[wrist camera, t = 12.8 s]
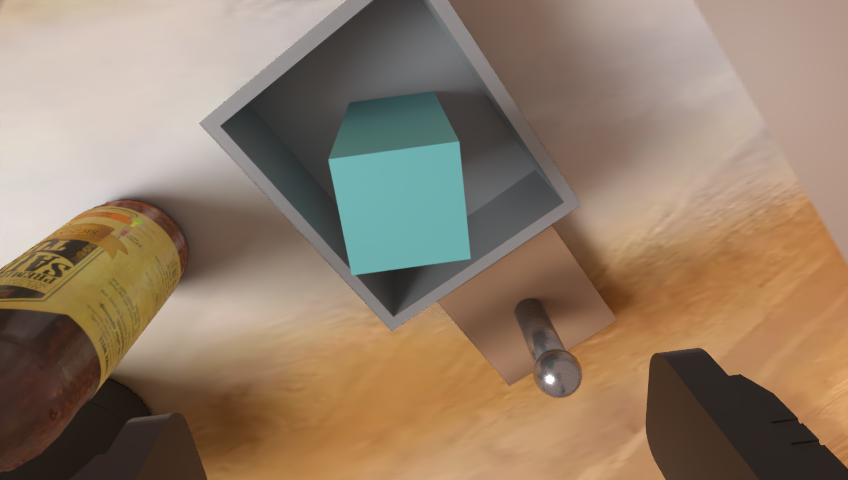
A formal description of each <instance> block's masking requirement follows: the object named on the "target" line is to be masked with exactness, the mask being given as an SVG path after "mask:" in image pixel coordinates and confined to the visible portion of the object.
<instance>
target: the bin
mask: <svg viewBox="0 0 848 480" xmlns="http://www.w3.org/2000/svg"><path fill="white" fill-rule="evenodd" d="M431 91H434V93H435V95H436V97H437V99H438V101H439V103H440V105H441V107H442V109H443V111H444V112H445V114H446V116H447V118H448V120H449V122H450V124H451V126H452V128H453V130H454V132H455V134H456V136H457V138H458V140H459V145H460V155H461V165H462V175H463V185H464V195H465V206H466V216H467V226H468V236H469V246H470V256H471V259H466V260H459V261H452V262H445V263H438V264H430V265H423V266H416V267H409V268H402V269H394V270H387V271H380V272H373V273H366V274H358V275H352V274H351V269H350V264H349V259H348V254H347V250H346V245H345V240H344V235H343V230H342V225H341V220H340V215H339V210H338V205H337V200H336V195H335V190H334V185H333V180H332V175H331V170H330V165H329V160H328V159H329V156H330V153H331V151H332V148H333V145H334V143H335V140H336V137H337V135H338V132H339V129H340V127H341V124H342V121H343V119H344V116H345V113H346V111H347V108H348V105H349V103H350V102H358V101H365V100H372V99H380V98H387V97H394V96H401V95H409V94H416V93H423V92H431ZM199 124H200V125H201V126H202V127H203V128H204V129H205V130H206V131H207V132H208V133H209V135H210V136H211V137H212V138H213V139H214V140H215V141H216V142H217V143H218V144H219V145H220V146H221V147H222V149H223V150H224V151H225V152H226V153H227V154H228V155H229V156H230V157H231V158H232V159H233V160H234V162H235V163H236V164H237V165H238V166H239V167H240V168H241V169H242V170H243V171H244V172H245V173H246V175H247V176H248V177H249V178H250V179H251V180H252V181H253V182H254V183H255V184H256V185H257V186H258V188H259V189H260V190H261V191H262V192H263V193H264V194H265V195H266V196H267V197H268V198H269V199H270V200H271V202H272V203H273V204H274V205H275V206H276V207H277V208H278V209H279V210H280V211H281V212H282V213H283V215H284V216H285V217H286V218H287V219H288V220H289V221H290V222H291V223H292V224H293V225H294V226H295V228H296V229H297V230H298V231H299V232H300V233H301V234H302V235H303V236H304V237H305V238H306V239H307V240H308V242H309V243H310V244H311V245H312V246H313V247H314V248H315V249H316V250H317V251H318V252H319V253H320V255H321V256H322V257H323V258H324V259H325V260H326V261H327V262H328V263H329V264H330V265H331V266H332V268H333V269H334V270H335V271H336V272H337V273H338V274H339V275H340V276H341V277H342V278H343V279H344V280H345V282H346V283H347V284H348V285H349V286H350V287H351V288H352V289H353V290H354V291H355V292H356V293H357V295H358V296H359V297H360V298H361V299H362V300H363V301H364V302H365V303H366V304H367V305H368V306H369V308H370V309H371V310H372V311H373V312H374V313H375V314H376V315H377V316H378V317H379V318H380V319H381V321H382V322H383V323H384V324H385V325H386V326H387V327H388V328H389V329H390V330H391V331H393V330H394V329H396V328H397V327H399V326H400V325H402V324H403V323H405V322H406V321H408V320H409V319H411V318H412V317H414V316H415V315H417V314H418V313H420V312H421V311H423V310H424V309H426V308H427V307H429V306H430V305H432V304H433V303H435V302H436V301H438V300H439V299H441V298H442V297H444V296H445V295H447V294H448V293H450V292H451V291H453V290H454V289H456V288H457V287H459V286H460V285H462V284H463V283H465V282H466V281H468V280H469V279H471V278H472V277H474V276H475V275H477V274H478V273H480V272H481V271H483V270H484V269H486V268H487V267H489V266H490V265H492V264H493V263H495V262H496V261H498V260H499V259H501V258H502V257H504V256H505V255H507V254H508V253H510V252H511V251H513V250H514V249H516V248H517V247H519V246H520V245H522V244H523V243H525V242H526V241H528V240H529V239H531V238H532V237H534V236H535V235H537V234H538V233H540V232H541V231H543V230H544V229H546V228H547V227H549V226H550V225H552V224H553V223H555V222H556V221H558V220H559V219H561V218H562V217H564V216H565V215H567V214H568V213H570V212H571V211H573V210H574V209H576V208H577V207H579V206H580V205H581V203H580V201H579V200H578V198H577V197H576V195H575V194H574V192H573V191H572V189H571V188H570V186H569V185H568V183H567V182H566V180H565V178H564V177H563V175H562V174H561V172H560V171H559V169H558V168H557V166H556V165H555V163H554V162H553V160H552V159H551V157H550V155H549V154H548V152H547V151H546V149H545V148H544V146H543V145H542V143H541V142H540V140H539V139H538V137H537V136H536V134H535V133H534V131H533V129H532V128H531V126H530V125H529V123H528V122H527V120H526V119H525V117H524V116H523V114H522V113H521V111H520V110H519V108H518V106H517V105H516V103H515V102H514V100H513V99H512V97H511V96H510V94H509V93H508V91H507V90H506V88H505V87H504V85H503V83H502V82H501V80H500V79H499V77H498V76H497V74H496V73H495V71H494V70H493V68H492V67H491V65H490V64H489V62H488V61H487V59H486V57H485V56H484V54H483V53H482V51H481V50H480V48H479V47H478V45H477V44H476V42H475V41H474V39H473V38H472V36H471V34H470V33H469V31H468V30H467V28H466V27H465V25H464V24H463V22H462V21H461V19H460V18H459V16H458V15H457V13H456V11H455V10H454V8H453V7H452V5H451V4H450V2H449V1H448V0H346V1H345V2H344V3H343V4H342V5H340V6H339V7H338V8H337V9H336V10H334V11H333V12H332V13H331V14H330V15H328V16H327V17H326V18H325V19H324V20H322V21H321V22H320V23H319V24H318V25H316V26H315V27H314V28H313V29H312V30H310V31H309V32H308V33H307V34H306V35H304V36H303V37H302V38H301V39H300V40H298V41H297V42H296V43H295V44H294V45H292V46H291V47H290V48H289V49H288V50H286V51H285V52H284V53H283V54H282V55H280V56H279V57H278V58H277V59H276V60H274V61H273V62H272V63H271V64H270V65H268V66H267V67H266V68H265V69H264V70H262V71H261V72H260V73H259V74H258V75H256V76H255V77H254V78H253V79H252V80H250V81H249V82H248V83H247V84H246V85H244V86H243V87H242V88H241V89H240V90H238V91H237V92H236V93H235V94H234V95H232V96H231V97H230V98H229V99H228V100H226V101H225V102H224V103H223V104H222V105H220V106H219V107H218V108H217V109H216V110H214V111H213V112H212V113H211V114H210V115H208V116H207V117H206V118H205V119H204V120H202V121H201V122H200V123H199Z"/></svg>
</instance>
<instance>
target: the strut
mask: <svg viewBox="0 0 848 480" xmlns="http://www.w3.org/2000/svg"><path fill="white" fill-rule="evenodd" d="M328 160H329V165H330V170H331V175H332V180H333V185H334V190H335V195H336V200H337V205H338V210H339V215H340V220H341V225H342V230H343V235H344V240H345V245H346V250H347V254H348V259H349V264H350V269H351V274H352V275H358V274H366V273H373V272H380V271H387V270H394V269H402V268H409V267H416V266H423V265H430V264H438V263H445V262H452V261H459V260H466V259H471V256H470V246H469V236H468V226H467V216H466V206H465V195H464V185H463V175H462V165H461V155H460V145H459V140H458V138H457V136H456V134H455V132H454V130H453V128H452V126H451V124H450V122H449V120H448V118H447V116H446V114H445V112H444V111H443V109H442V107H441V105H440V103H439V101H438V99H437V97H436V95H435V93H434V91H431V92H423V93H416V94H409V95H401V96H394V97H387V98H380V99H372V100H365V101H358V102H350V103H349V105H348V108H347V111H346V113H345V116H344V119H343V121H342V124H341V127H340V129H339V132H338V135H337V137H336V140H335V143H334V145H333V148H332V151H331V153H330V156H329V159H328Z"/></svg>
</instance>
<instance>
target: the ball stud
mask: <svg viewBox="0 0 848 480" xmlns="http://www.w3.org/2000/svg"><path fill="white" fill-rule="evenodd" d="M514 314H515V317H516V320H517V322H518V325H519V327H520V330H521V332H522V335H523V337H524V339H525V342H526V344H527V347H528V349H529V352H530V354H531V357H532V359H533V362H534V369H533V376H534V380H535V382H536V384H537V386H538V387H539V389H540V390H541V391H542V392H543V393H545V394H547V395H548V396H551V397H554V398H564V397H567V396H570V395H571V394H573V393H574V392H575V391H576V390H577V389H578V388H579V386H580V384H581V380H582V369H581V366H580V364H579V362H578V360H577V359H576V358H575V357H574V356H573V355H572V354H571V353H569V352H567V351H566V349H565V347H564V345H563V343H562V341H561V340H560V338H559V336H558V334H557V332H556V330H555V328H554V326H553V324H552V322H551V320H550V318H549V316H548V314H547V312H546V310H545V308H544V306H543V304H542V303H541V302H540V301H539V300H537V299H534V298H527V299H524V300H522V301H520V302H519V303H518V304H517V306H516V307H515V311H514Z"/></svg>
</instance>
